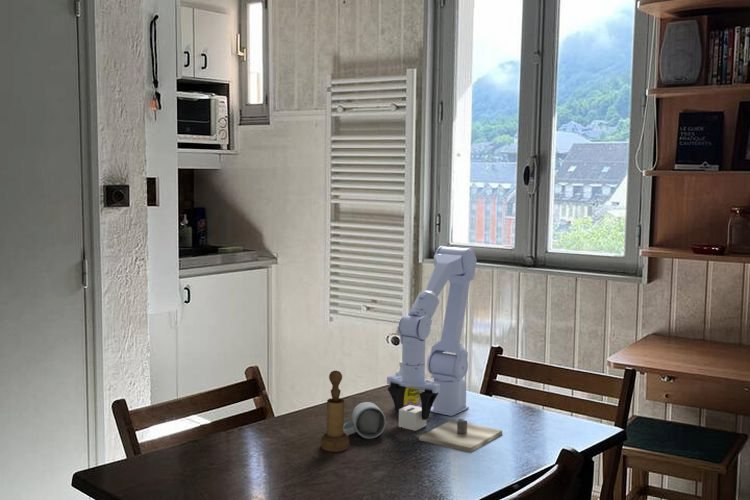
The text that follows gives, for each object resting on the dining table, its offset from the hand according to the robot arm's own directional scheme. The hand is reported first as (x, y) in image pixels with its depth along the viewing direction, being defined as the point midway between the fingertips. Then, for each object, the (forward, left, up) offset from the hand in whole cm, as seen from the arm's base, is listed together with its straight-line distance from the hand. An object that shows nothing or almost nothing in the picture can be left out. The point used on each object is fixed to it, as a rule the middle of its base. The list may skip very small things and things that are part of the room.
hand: (412, 416), depth 207 cm
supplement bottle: (-13, -10, -3) cm, 17 cm away
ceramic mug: (+12, -6, -3) cm, 14 cm away
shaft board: (0, +14, -3) cm, 14 cm away
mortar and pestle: (+24, -6, -3) cm, 25 cm away
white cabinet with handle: (0, 0, -3) cm, 3 cm away
